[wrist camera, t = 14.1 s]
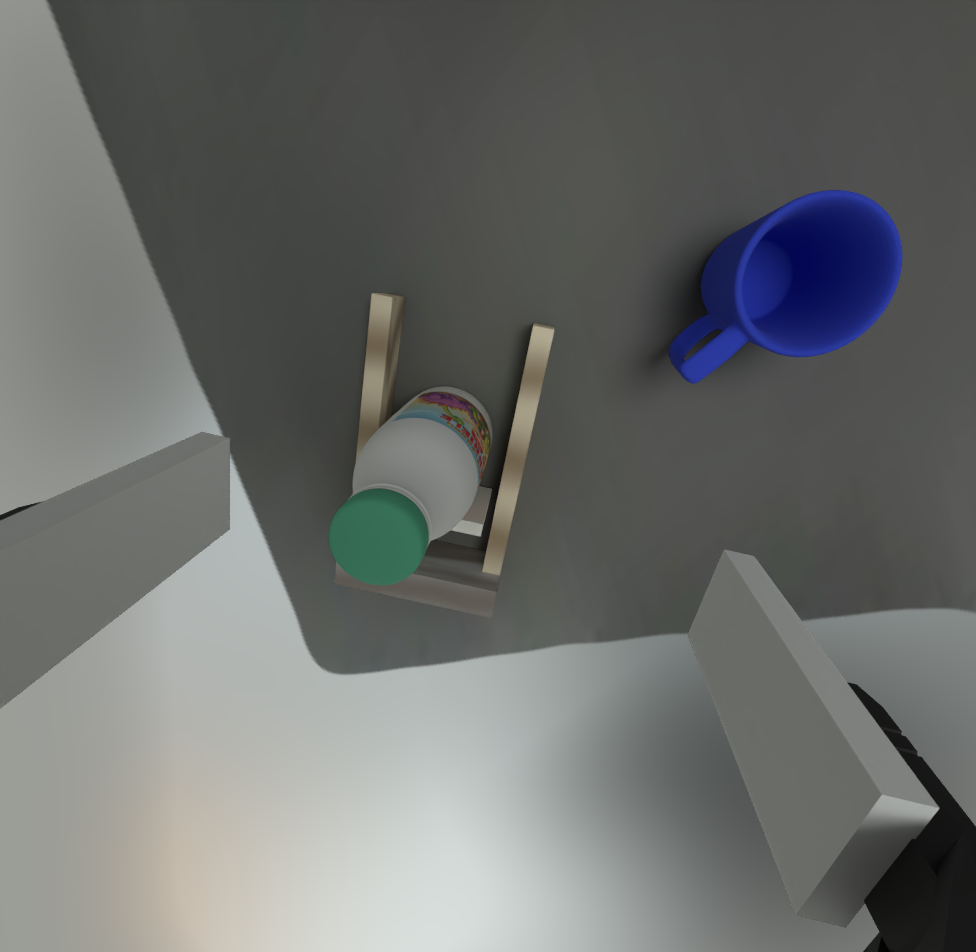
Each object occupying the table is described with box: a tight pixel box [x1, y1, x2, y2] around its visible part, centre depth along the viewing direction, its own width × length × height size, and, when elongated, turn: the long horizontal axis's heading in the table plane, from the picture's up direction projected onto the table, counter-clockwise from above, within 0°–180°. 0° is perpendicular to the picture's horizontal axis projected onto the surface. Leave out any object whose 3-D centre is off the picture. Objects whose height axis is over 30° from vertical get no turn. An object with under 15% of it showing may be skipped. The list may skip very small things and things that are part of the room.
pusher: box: [451, 486, 492, 537], centre depth 41 cm, size 4×9×7 cm, turn 79°
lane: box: [334, 293, 554, 618], centre depth 40 cm, size 22×13×6 cm, turn 170°
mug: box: [669, 190, 902, 383], centre depth 32 cm, size 8×12×10 cm
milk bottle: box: [329, 386, 493, 585], centre depth 33 cm, size 8×8×20 cm
